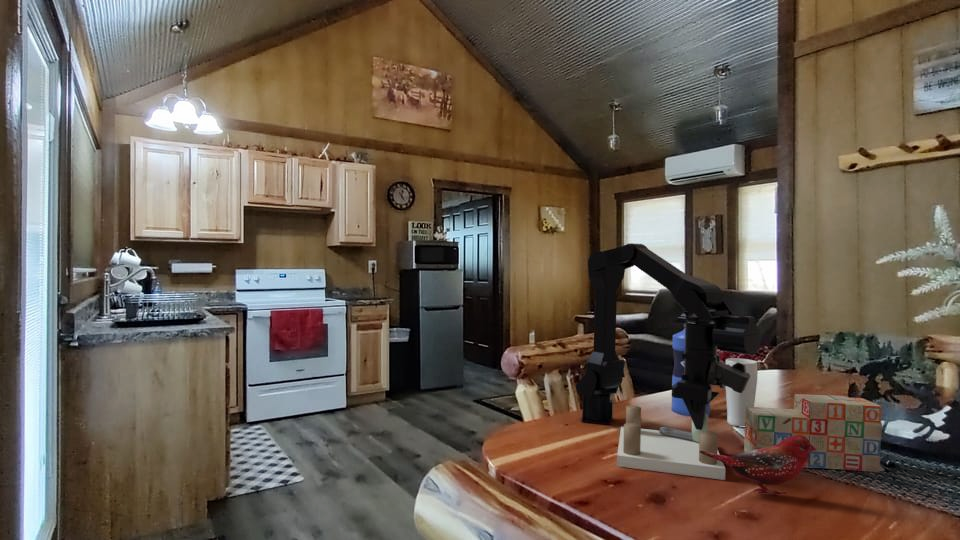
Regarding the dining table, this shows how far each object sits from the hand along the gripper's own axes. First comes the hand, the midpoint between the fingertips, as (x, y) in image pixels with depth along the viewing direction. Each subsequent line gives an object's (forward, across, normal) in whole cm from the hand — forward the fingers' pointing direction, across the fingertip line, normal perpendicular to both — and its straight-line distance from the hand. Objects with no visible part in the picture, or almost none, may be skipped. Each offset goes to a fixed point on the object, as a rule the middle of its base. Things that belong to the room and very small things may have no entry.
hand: (699, 429), depth 102 cm
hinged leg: (+3, +3, +4) cm, 5 cm away
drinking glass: (+5, +28, -3) cm, 28 cm away
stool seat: (+5, -3, +5) cm, 8 cm away
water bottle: (+4, +32, +9) cm, 34 cm away
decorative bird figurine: (+6, -12, -11) cm, 17 cm away
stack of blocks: (+6, +10, -18) cm, 21 cm away
